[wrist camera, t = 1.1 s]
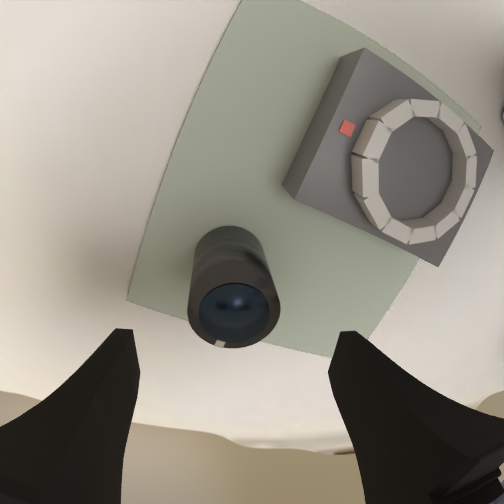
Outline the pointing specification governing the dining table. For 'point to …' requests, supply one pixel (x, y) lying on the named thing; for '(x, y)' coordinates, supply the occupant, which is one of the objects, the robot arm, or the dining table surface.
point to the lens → (232, 289)
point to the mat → (271, 180)
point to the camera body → (389, 158)
